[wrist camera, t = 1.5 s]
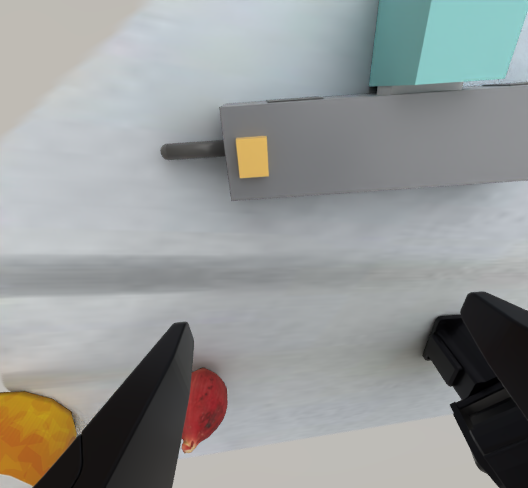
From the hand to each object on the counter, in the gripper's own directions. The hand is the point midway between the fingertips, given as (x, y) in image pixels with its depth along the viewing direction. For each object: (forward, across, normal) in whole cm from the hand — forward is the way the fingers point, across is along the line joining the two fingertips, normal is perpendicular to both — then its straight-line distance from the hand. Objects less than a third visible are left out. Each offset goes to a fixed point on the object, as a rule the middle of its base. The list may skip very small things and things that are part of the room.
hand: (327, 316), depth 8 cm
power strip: (+13, -4, -3) cm, 14 cm away
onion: (+13, +10, +21) cm, 26 cm away
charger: (+13, -8, -7) cm, 17 cm away
